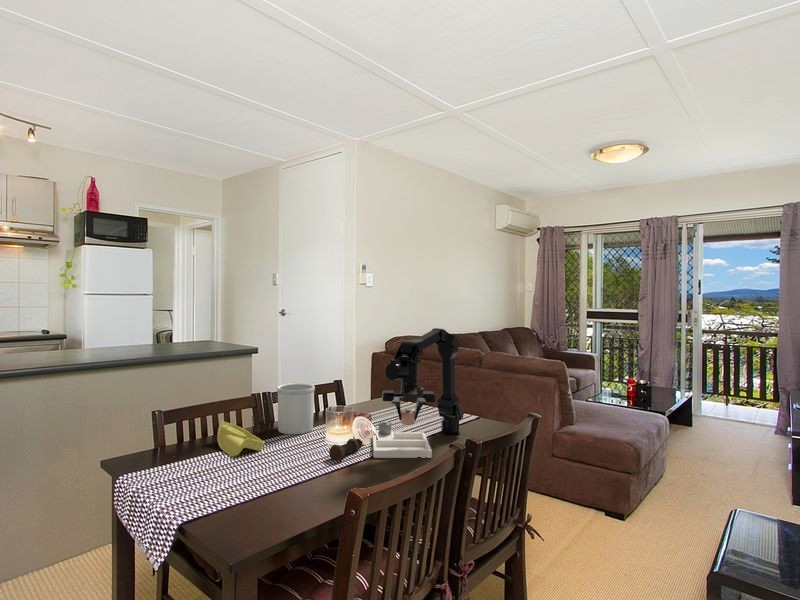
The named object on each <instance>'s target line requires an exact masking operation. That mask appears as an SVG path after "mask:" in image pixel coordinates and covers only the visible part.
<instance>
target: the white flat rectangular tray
mask: <svg viewBox="0 0 800 600" xmlns="http://www.w3.org/2000/svg"><path fill="white" fill-rule="evenodd" d="M376 431H377V432H378V434H379V429H375V432H376ZM377 432H376V433H377ZM372 451H373V458H374V459H375V458H376V459H379V458H381V459H382V458H383V459H391V458H393V459H394V458H395V459H410V458H411V459H414V458H415V459H418V458H417V457H421V458H420V459H427V458H428V459H429V458H430V459H431V458H433V457H432V455H433V454H432V452H433V450H432V447H431V446H430V443H429V439H428V438H427V436H426V433H425V432H418V431H416V432H415V431H414V432H413V431H412V432H411V431H410V432H407V431H405V432H403V431H402V432H401V431H400V432H398V431H396V432H394V430H393V429H391V434H390V435H380V434H379V439H378V440H376V435H375V436H373V435H372ZM426 457H427V458H426Z"/></svg>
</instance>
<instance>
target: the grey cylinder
mask: <svg viewBox="0 0 800 600" xmlns="http://www.w3.org/2000/svg"><path fill="white" fill-rule="evenodd" d="M378 430H379V434H380V435H390V434H391V430H392V422H390V421H387V420H383V421H379V422H378Z"/></svg>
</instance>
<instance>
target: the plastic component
mask: <svg viewBox="0 0 800 600" xmlns="http://www.w3.org/2000/svg"><path fill="white" fill-rule="evenodd" d="M216 436H217V438H216V440H217V443H218V446H219V448H220V449H221V450H222V451H224V452H225V453H226V454H227V455H228V456H230V457H234V458H235V457H237V456H239V455H240V454H241V452H242V451H243V449H250V450H254V451H258V452H260V451H262V449H263V447H264V446H265V441H263V440H262V439H261V438H259V437H258V436H256V435H254V434H253V433H252V432H250V431H248V430H246V429H245V428H243V427H241V426H238V425H236V424H233V423H230V422H226V421H220V423H219V425H218V428H217V435H216Z"/></svg>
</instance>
